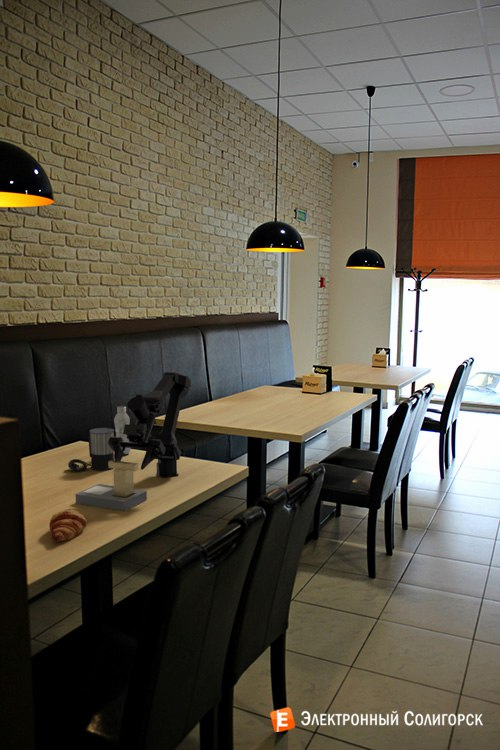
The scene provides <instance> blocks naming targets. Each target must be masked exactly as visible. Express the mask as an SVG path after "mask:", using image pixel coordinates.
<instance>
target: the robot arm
mask: <svg viewBox="0 0 500 750" xmlns="http://www.w3.org/2000/svg"><path fill="white" fill-rule="evenodd" d="M191 385H192V380H191V379H190V378H189V376H187V375H183V374H180V373H178V372H175V371H166V372H163V374H162V377H161V379H160V380H159V381H158V382H157V384H156V386H155V387H154V388H153V390H151V391H150V392H147V393H145V394H144V395H143V394H138V393H137V394H136V395H135V397H132V398H131V399H130V400H129V401H127V405H126V408H127V409H128V410H129V412H130V414H131V415H132V417H133V419H135V420H136V422H135V424H130V423H129V424H125V425H124V431H123V434H125V435H127V437H126V438H127V439H129V442H126V441H123V440H122V438H121V437H116V436H114V437H110V438H109V440H108V442H107V443H108V444H109V446H110V447H111V449H112V450H113V451H114V460H115V461H122V459H123V457H124V455H125V454H124V452H123V451H125V448H131V449H136V450H137V449H140V450H145V454H144V457H143V460H142V462H141V465H140V470H141V471H143V470H145V468H146V467H147V466H149V465H150V464H151V463H152V462H153V461H154V460H157V462H156V475H158V476H159V477H160V478H162V479H164V478H171V477H178V476H179V473H178V467H177V465H178V463H177V462H178V461H179V460H180V458H181V450H180V449H179V447H178V441H177V438H176V436H175V434H176V430H177V425H178V421H179V420H178V419H179V416H180V411H181V406H182V403H183V402H182V401H183V399H184V398H185V397H186V396H187V395H188V394H189V391H190V388H191ZM168 394H169V398H168V403H167V406H166V411H165V415H164V419H163V425H162V429H161V431H160V432H159V433H156V434H155V437H154V438H153V439H152V438H151V437H152V434H151V431H152V429H153V426H154V425H156V424H157V420H156V417H155V415H154V414H160V413H161V412H162V410H163V409H164V407H165V403H164V401H165V398H166V397H167V395H168Z"/></svg>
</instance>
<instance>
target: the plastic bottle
mask: <svg viewBox="0 0 500 750" xmlns="http://www.w3.org/2000/svg"><path fill="white" fill-rule="evenodd" d="M116 409H117V410H116V412H117V413H116V414H115V416H114V419H113V422H114V427H115V437H121V438H122V440H123V441H126V442H129V439H127V438H126V437H127V435H125V434H123V431H124V425H125V424H130V421H131V420H130V419H131V418H130V416H129V415H128V414H127V406H125V405H124V406H123V405H120V406H117V408H116ZM131 449H132V448H125V451H123V452H124V455H128V454H130V453H131Z"/></svg>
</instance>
